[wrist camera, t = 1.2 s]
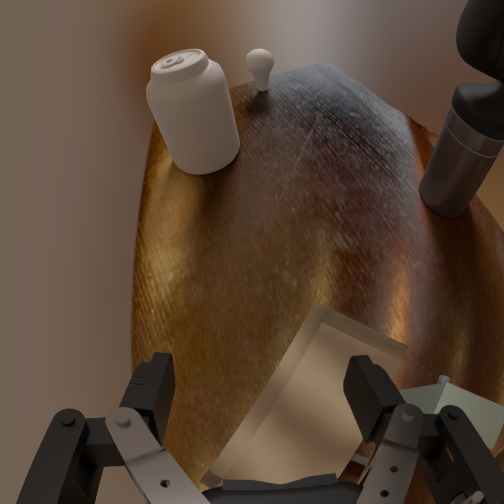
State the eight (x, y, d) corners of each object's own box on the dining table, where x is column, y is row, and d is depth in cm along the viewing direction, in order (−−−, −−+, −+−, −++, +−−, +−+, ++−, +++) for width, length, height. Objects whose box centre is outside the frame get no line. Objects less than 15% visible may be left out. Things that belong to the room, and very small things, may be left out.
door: (400, 383, 30) (450, 370, 19) (450, 405, 27) (511, 398, 16) (382, 419, 28) (427, 426, 17) (434, 440, 25) (492, 449, 14)
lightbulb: (282, 89, 60) (278, 47, 51) (264, 100, 58) (258, 57, 49) (262, 82, 63) (256, 43, 53) (244, 93, 61) (237, 52, 51)
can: (172, 183, 50) (127, 89, 32) (177, 138, 56) (144, 55, 38) (243, 169, 49) (219, 65, 31) (238, 126, 55) (219, 36, 37)
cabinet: (306, 340, 35) (315, 301, 21) (433, 400, 28) (504, 390, 15) (226, 464, 28) (184, 500, 15) (359, 523, 22) (393, 578, 9)
